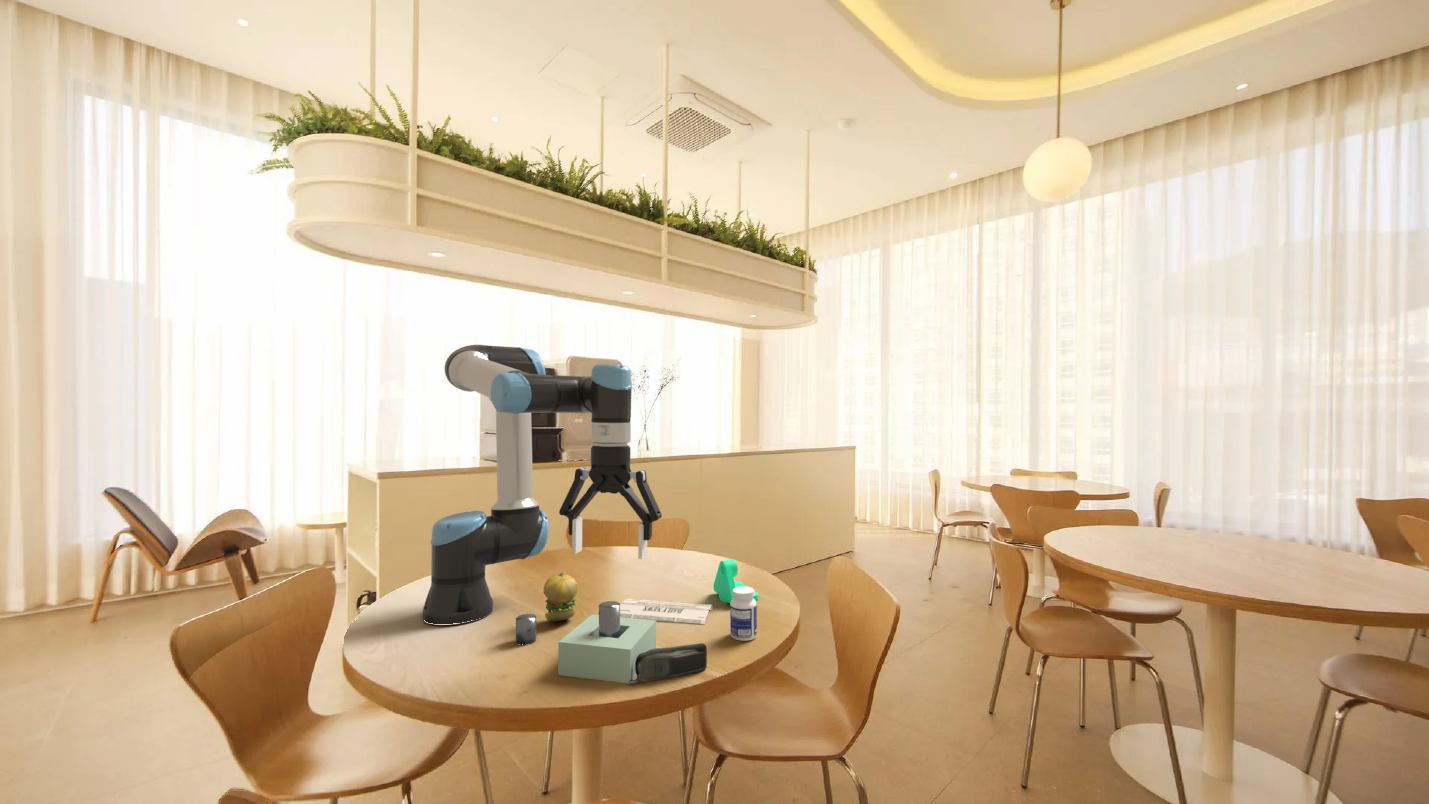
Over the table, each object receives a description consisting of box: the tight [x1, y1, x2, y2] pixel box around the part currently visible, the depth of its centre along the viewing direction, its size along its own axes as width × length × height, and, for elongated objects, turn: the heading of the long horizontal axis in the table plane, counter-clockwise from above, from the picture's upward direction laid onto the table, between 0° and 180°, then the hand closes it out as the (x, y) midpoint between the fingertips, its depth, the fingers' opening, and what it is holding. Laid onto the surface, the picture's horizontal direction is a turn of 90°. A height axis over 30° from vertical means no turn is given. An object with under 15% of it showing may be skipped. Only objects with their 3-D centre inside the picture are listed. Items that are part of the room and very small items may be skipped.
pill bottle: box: [729, 586, 758, 642], centre depth 119 cm, size 6×6×10 cm
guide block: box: [557, 614, 657, 685], centre depth 106 cm, size 14×14×6 cm
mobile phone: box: [629, 642, 708, 686], centre depth 101 cm, size 5×3×15 cm
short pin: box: [515, 613, 537, 646], centre depth 116 cm, size 4×4×5 cm
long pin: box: [598, 600, 621, 638], centre depth 106 cm, size 4×4×11 cm
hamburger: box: [543, 572, 579, 622], centre depth 126 cm, size 8×7×12 cm
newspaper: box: [620, 598, 713, 626], centre depth 133 cm, size 23×12×2 cm, turn 80°
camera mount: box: [713, 559, 759, 604], centre depth 142 cm, size 12×8×10 cm, turn 22°
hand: (609, 554), depth 107 cm, fingers open, 13 cm apart
